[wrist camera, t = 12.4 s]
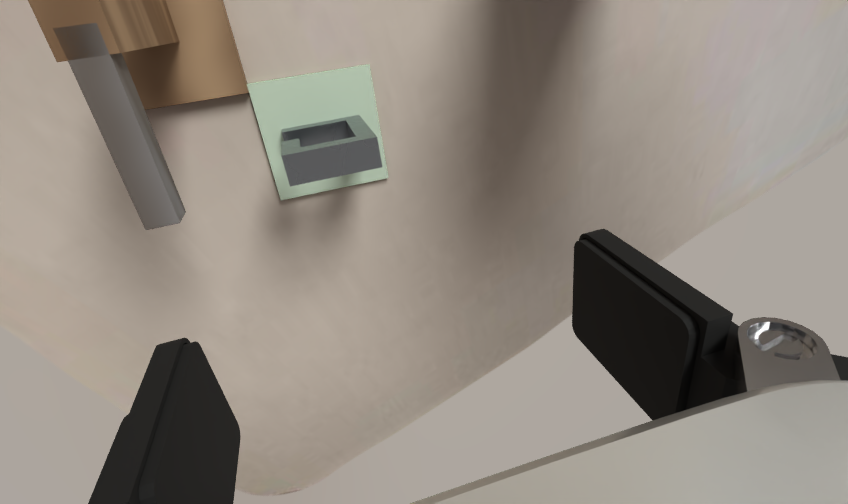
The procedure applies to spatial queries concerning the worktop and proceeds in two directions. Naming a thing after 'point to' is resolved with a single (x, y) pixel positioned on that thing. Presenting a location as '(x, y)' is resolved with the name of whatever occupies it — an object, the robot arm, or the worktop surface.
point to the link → (329, 150)
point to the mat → (315, 118)
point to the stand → (143, 77)
